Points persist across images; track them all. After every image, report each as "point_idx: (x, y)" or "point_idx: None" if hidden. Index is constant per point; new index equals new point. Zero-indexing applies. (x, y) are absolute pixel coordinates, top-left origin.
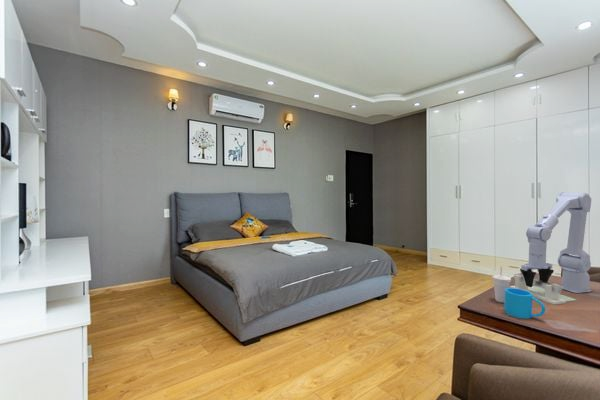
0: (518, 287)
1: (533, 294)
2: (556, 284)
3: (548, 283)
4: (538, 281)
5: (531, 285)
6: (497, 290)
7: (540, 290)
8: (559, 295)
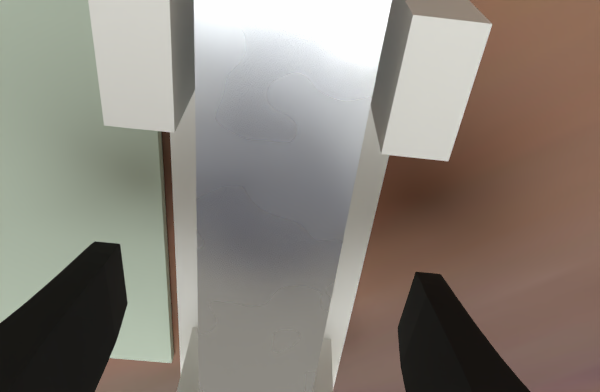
0: (329, 358)
1: (373, 188)
2: (122, 63)
3: (260, 183)
4: (323, 322)
5: (452, 292)
6: None
7: (67, 257)
8: None
